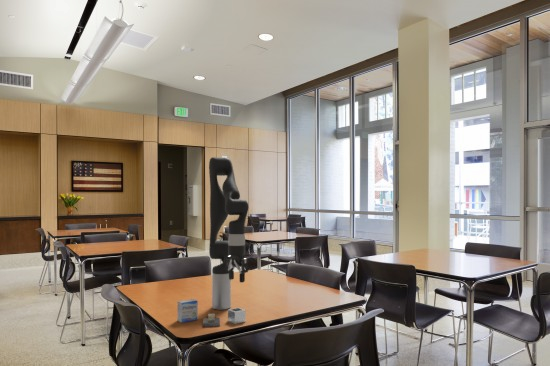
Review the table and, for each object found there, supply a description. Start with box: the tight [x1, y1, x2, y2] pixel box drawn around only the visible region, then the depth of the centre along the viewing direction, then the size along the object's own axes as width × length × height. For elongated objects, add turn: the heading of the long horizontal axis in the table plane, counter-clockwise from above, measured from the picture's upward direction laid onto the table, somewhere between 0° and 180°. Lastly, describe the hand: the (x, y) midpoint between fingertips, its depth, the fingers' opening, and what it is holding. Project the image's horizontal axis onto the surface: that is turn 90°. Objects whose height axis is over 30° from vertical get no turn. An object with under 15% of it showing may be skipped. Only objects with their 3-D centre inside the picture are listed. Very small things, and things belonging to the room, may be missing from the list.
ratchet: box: [202, 313, 221, 328], centre depth 172 cm, size 15×7×4 cm, turn 9°
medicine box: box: [176, 298, 199, 324], centre depth 174 cm, size 8×4×9 cm, turn 126°
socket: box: [227, 307, 247, 325], centre depth 172 cm, size 6×6×5 cm
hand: (236, 280), depth 173 cm, fingers open, 8 cm apart
